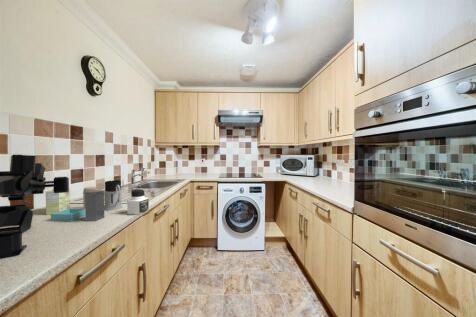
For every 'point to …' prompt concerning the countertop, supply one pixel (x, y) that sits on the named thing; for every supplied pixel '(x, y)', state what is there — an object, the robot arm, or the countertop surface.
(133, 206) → the medicine bottle
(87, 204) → the tall grey square pillar
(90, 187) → the carving
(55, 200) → the box
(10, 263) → the countertop surface
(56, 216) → the teal tray
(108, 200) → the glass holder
